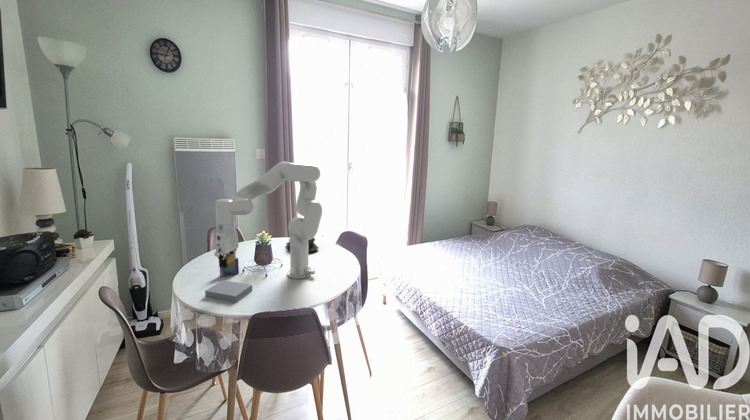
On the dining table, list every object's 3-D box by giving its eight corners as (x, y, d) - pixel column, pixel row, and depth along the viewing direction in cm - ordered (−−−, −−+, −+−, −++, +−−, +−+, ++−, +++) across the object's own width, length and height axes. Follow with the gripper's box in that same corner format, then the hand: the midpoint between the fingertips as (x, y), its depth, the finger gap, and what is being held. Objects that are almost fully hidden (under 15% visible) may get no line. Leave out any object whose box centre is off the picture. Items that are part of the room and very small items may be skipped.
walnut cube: (235, 264, 149) (235, 254, 148) (228, 268, 144) (228, 257, 143) (226, 262, 150) (226, 252, 149) (219, 266, 146) (218, 256, 145)
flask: (220, 277, 167) (219, 257, 165) (219, 275, 170) (218, 255, 168) (239, 274, 172) (238, 255, 170) (238, 272, 174) (237, 253, 172)
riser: (252, 290, 154) (252, 284, 154) (235, 302, 143) (235, 296, 142) (223, 285, 158) (223, 280, 157) (205, 296, 147) (205, 290, 146)
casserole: (325, 250, 216) (325, 238, 214) (302, 256, 202) (302, 243, 200) (301, 241, 231) (301, 230, 230) (279, 247, 217) (279, 235, 216)
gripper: (219, 232, 135) (221, 273, 138) (245, 223, 151) (246, 259, 155) (204, 230, 136) (206, 270, 140) (231, 221, 153) (232, 257, 156)
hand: (227, 264), depth 147 cm, fingers closed on walnut cube, 5 cm apart
